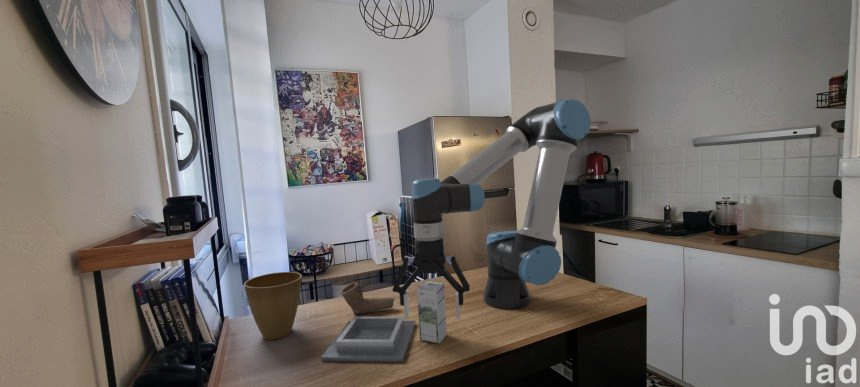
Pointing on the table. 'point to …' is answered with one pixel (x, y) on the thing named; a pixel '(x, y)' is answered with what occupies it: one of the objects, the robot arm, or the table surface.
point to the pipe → (364, 300)
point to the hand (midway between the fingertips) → (432, 316)
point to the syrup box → (432, 312)
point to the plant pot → (274, 302)
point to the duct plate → (371, 340)
